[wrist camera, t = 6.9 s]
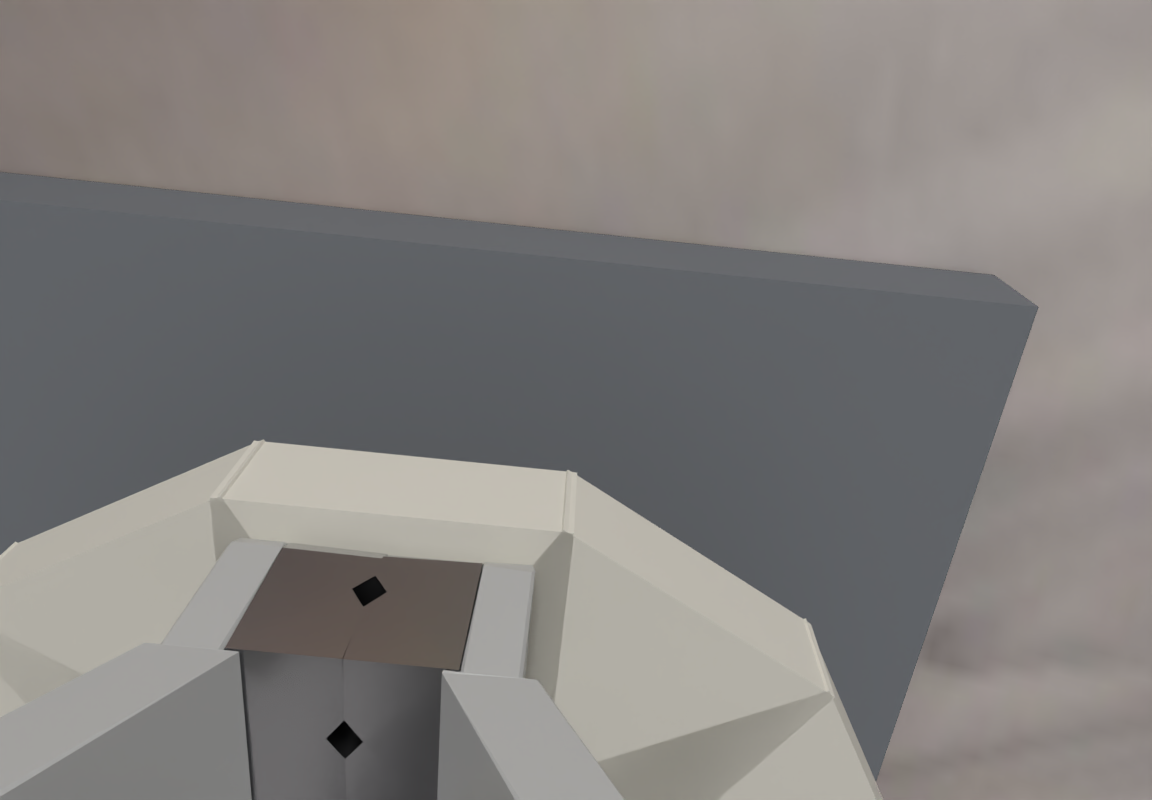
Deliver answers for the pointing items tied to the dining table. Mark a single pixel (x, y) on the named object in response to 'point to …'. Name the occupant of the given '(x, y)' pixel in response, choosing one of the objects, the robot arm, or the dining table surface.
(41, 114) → the dining table surface
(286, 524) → the silicone ring
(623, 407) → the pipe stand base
